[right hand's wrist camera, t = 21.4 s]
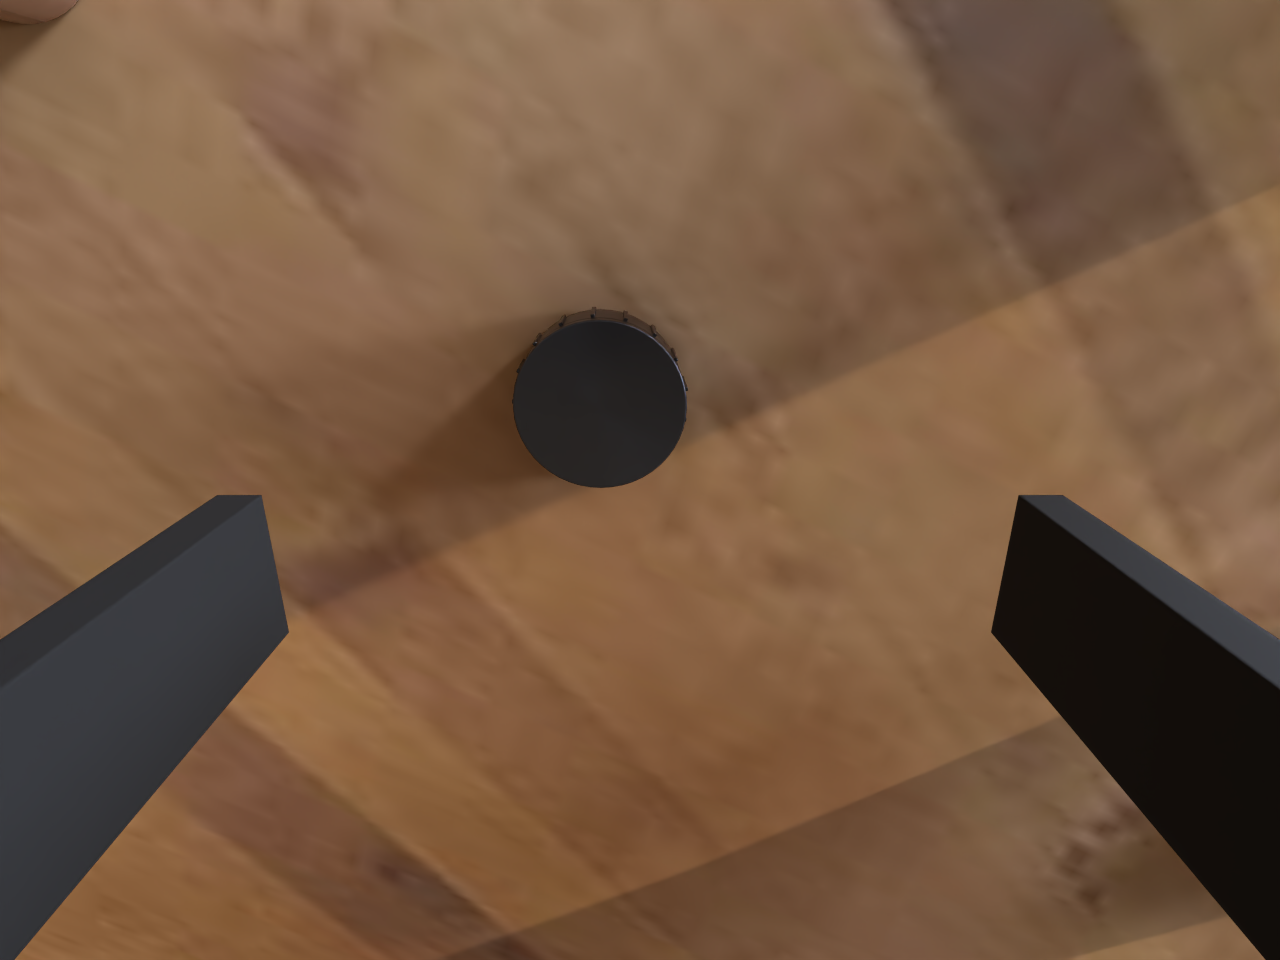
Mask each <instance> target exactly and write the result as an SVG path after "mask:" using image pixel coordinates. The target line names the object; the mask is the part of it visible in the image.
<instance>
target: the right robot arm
mask: <svg viewBox="0 0 1280 960" xmlns="http://www.w3.org/2000/svg"><path fill="white" fill-rule="evenodd" d="M288 633H289V630H288V625H287V620H286V616H285V611H284V606H283V601H282V596H281V591H280V586H279V581H278V576H277V571H276V566H275V561H274V556H273V551H272V546H271V541H270V536H269V531H268V526H267V521H266V516H265V511H264V506H263V501H262V496H261V495H217V496H215V497H214V498H212V499H211V500H209V501H208V502H206V503H205V504H203V505H202V506H200V507H199V508H197V509H196V510H194V511H193V512H191V513H190V514H188V515H187V516H185V517H184V518H182V519H181V520H179V521H178V522H176V523H175V524H173V525H172V526H170V527H169V528H167V529H166V530H164V531H163V532H161V533H160V534H158V535H157V536H155V537H154V538H152V539H151V540H149V541H148V542H146V543H145V544H143V545H142V546H140V547H139V548H137V549H136V550H134V551H133V552H131V553H130V554H128V555H127V556H125V557H124V558H122V559H121V560H119V561H118V562H116V563H115V564H113V565H112V566H110V567H109V568H107V569H106V570H104V571H103V572H101V573H100V574H98V575H97V576H95V577H94V578H92V579H91V580H89V581H88V582H86V583H85V584H83V585H82V586H80V587H79V588H77V589H76V590H74V591H73V592H71V593H70V594H68V595H67V596H65V597H64V598H62V599H61V600H59V601H58V602H56V603H55V604H53V605H52V606H50V607H49V608H47V609H46V610H44V611H43V612H41V613H40V614H38V615H37V616H35V617H34V618H32V619H31V620H29V621H28V622H26V623H25V624H23V625H22V626H20V627H19V628H17V629H16V630H14V631H13V632H11V633H10V634H8V635H7V636H5V637H4V638H2V639H1V640H0V960H15V958H16V957H17V956H18V955H19V954H20V952H21V951H22V950H23V949H24V948H25V946H26V945H27V944H28V943H29V942H30V940H31V939H32V938H33V937H34V936H35V935H36V933H37V932H38V931H39V930H40V929H41V927H42V926H43V925H44V924H45V923H46V921H47V920H48V919H49V918H50V917H51V915H52V914H53V913H54V912H55V911H56V909H57V908H58V907H59V906H60V905H61V903H62V902H63V901H64V900H65V899H66V898H67V896H68V895H69V894H70V893H71V892H72V890H73V889H74V888H75V887H76V886H77V884H78V883H79V882H80V881H81V880H82V878H83V877H84V876H85V875H86V874H87V872H88V871H89V870H90V869H91V868H92V867H93V865H94V864H95V863H96V862H97V861H98V859H99V858H100V857H101V856H102V855H103V853H104V852H105V851H106V850H107V849H108V847H109V846H110V845H111V844H112V843H113V841H114V840H115V839H116V838H117V837H118V835H119V834H120V833H121V832H122V831H123V830H124V828H125V827H126V826H127V825H128V824H129V822H130V821H131V820H132V819H133V818H134V816H135V815H136V814H137V813H138V812H139V810H140V809H141V808H142V807H143V806H144V804H145V803H146V802H147V801H148V800H149V799H150V797H151V796H152V795H153V794H154V793H155V791H156V790H157V789H158V788H159V787H160V785H161V784H162V783H163V782H164V781H165V779H166V778H167V777H168V776H169V775H170V773H171V772H172V771H173V770H174V769H175V767H176V766H177V765H178V764H179V763H180V762H181V760H182V759H183V758H184V757H185V756H186V754H187V753H188V752H189V751H190V750H191V748H192V747H193V746H194V745H195V744H196V742H197V741H198V740H199V739H200V738H201V736H202V735H203V734H204V733H205V732H206V731H207V729H208V728H209V727H210V726H211V725H212V723H213V722H214V721H215V720H216V719H217V717H218V716H219V715H220V714H221V713H222V711H223V710H224V709H225V708H226V707H227V705H228V704H229V703H230V702H231V701H232V699H233V698H234V697H235V696H236V695H237V694H238V692H239V691H240V690H241V689H242V688H243V686H244V685H245V684H246V683H247V682H248V680H249V679H250V678H251V677H252V676H253V674H254V673H255V672H256V671H257V670H258V668H259V667H260V666H261V665H262V664H263V663H264V661H265V660H266V659H267V658H268V657H269V655H270V654H271V653H272V652H273V651H274V649H275V648H276V647H277V646H278V645H279V643H280V642H281V641H282V640H283V639H284V637H285V636H286V635H287V634H288ZM991 633H992V634H993V635H994V636H995V637H996V639H997V640H998V641H999V642H1000V643H1001V645H1002V646H1003V647H1004V648H1005V649H1006V651H1007V652H1008V653H1009V654H1010V655H1011V657H1012V658H1013V659H1014V660H1015V661H1016V663H1017V664H1018V665H1019V666H1020V667H1021V668H1022V670H1023V671H1024V672H1025V673H1026V674H1027V676H1028V677H1029V678H1030V679H1031V680H1032V682H1033V683H1034V684H1035V685H1036V686H1037V688H1038V689H1039V690H1040V691H1041V692H1042V694H1043V695H1044V696H1045V697H1046V698H1047V699H1048V701H1049V702H1050V703H1051V704H1052V705H1053V707H1054V708H1055V709H1056V710H1057V711H1058V713H1059V714H1060V715H1061V716H1062V717H1063V719H1064V720H1065V721H1066V722H1067V723H1068V725H1069V726H1070V727H1071V728H1072V729H1073V731H1074V732H1075V733H1076V734H1077V735H1078V736H1079V738H1080V739H1081V740H1082V741H1083V742H1084V744H1085V745H1086V746H1087V747H1088V748H1089V750H1090V751H1091V752H1092V753H1093V754H1094V756H1095V757H1096V758H1097V759H1098V760H1099V762H1100V763H1101V764H1102V765H1103V766H1104V767H1105V769H1106V770H1107V771H1108V772H1109V773H1110V775H1111V776H1112V777H1113V778H1114V779H1115V781H1116V782H1117V783H1118V784H1119V785H1120V787H1121V788H1122V789H1123V790H1124V791H1125V793H1126V794H1127V795H1128V796H1129V797H1130V799H1131V800H1132V801H1133V802H1134V803H1135V804H1136V806H1137V807H1138V808H1139V809H1140V810H1141V812H1142V813H1143V814H1144V815H1145V816H1146V818H1147V819H1148V820H1149V821H1150V822H1151V824H1152V825H1153V826H1154V827H1155V828H1156V830H1157V831H1158V832H1159V833H1160V834H1161V835H1162V837H1163V838H1164V839H1165V840H1166V841H1167V843H1168V844H1169V845H1170V846H1171V847H1172V849H1173V850H1174V851H1175V852H1176V853H1177V855H1178V856H1179V857H1180V858H1181V859H1182V861H1183V862H1184V863H1185V864H1186V865H1187V867H1188V868H1189V869H1190V870H1191V871H1192V872H1193V874H1194V875H1195V876H1196V877H1197V878H1198V880H1199V881H1200V882H1201V883H1202V884H1203V886H1204V887H1205V888H1206V889H1207V890H1208V892H1209V893H1210V894H1211V895H1212V896H1213V898H1214V899H1215V900H1216V901H1217V902H1218V903H1219V905H1220V906H1221V907H1222V908H1223V909H1224V911H1225V912H1226V913H1227V914H1228V915H1229V917H1230V918H1231V919H1232V920H1233V921H1234V923H1235V924H1236V925H1237V926H1238V927H1239V929H1240V930H1241V931H1242V932H1243V933H1244V935H1245V936H1246V937H1247V938H1248V939H1249V940H1250V942H1251V943H1252V944H1253V945H1254V946H1255V948H1256V949H1257V950H1258V951H1259V952H1260V954H1261V955H1262V956H1263V957H1264V958H1265V960H1280V640H1279V639H1278V638H1276V637H1275V636H1273V635H1272V634H1270V633H1269V632H1267V631H1266V630H1264V629H1263V628H1261V627H1260V626H1258V625H1257V624H1255V623H1254V622H1252V621H1251V620H1249V619H1248V618H1246V617H1245V616H1243V615H1242V614H1240V613H1239V612H1237V611H1236V610H1234V609H1233V608H1231V607H1230V606H1228V605H1227V604H1225V603H1224V602H1222V601H1221V600H1219V599H1218V598H1216V597H1215V596H1213V595H1212V594H1210V593H1209V592H1207V591H1206V590H1204V589H1203V588H1201V587H1200V586H1198V585H1197V584H1195V583H1194V582H1192V581H1191V580H1189V579H1188V578H1186V577H1185V576H1183V575H1182V574H1180V573H1179V572H1177V571H1176V570H1174V569H1173V568H1171V567H1170V566H1168V565H1167V564H1165V563H1164V562H1162V561H1161V560H1159V559H1158V558H1156V557H1155V556H1153V555H1152V554H1150V553H1149V552H1147V551H1146V550H1144V549H1143V548H1141V547H1140V546H1138V545H1137V544H1135V543H1134V542H1132V541H1131V540H1129V539H1128V538H1126V537H1125V536H1123V535H1122V534H1120V533H1119V532H1117V531H1116V530H1114V529H1113V528H1111V527H1110V526H1108V525H1107V524H1105V523H1104V522H1102V521H1101V520H1099V519H1098V518H1096V517H1095V516H1093V515H1092V514H1090V513H1089V512H1087V511H1086V510H1084V509H1083V508H1081V507H1080V506H1078V505H1077V504H1075V503H1074V502H1072V501H1071V500H1069V499H1068V498H1066V497H1065V496H1063V495H1019V496H1018V501H1017V506H1016V511H1015V516H1014V521H1013V526H1012V531H1011V536H1010V541H1009V546H1008V551H1007V556H1006V561H1005V566H1004V571H1003V576H1002V581H1001V586H1000V591H999V596H998V601H997V606H996V611H995V616H994V621H993V625H992V630H991Z"/></svg>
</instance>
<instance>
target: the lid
mask: <svg viewBox="0 0 1280 960" xmlns="http://www.w3.org/2000/svg"><path fill="white" fill-rule="evenodd" d="M533 345H534V346H533V347H532V349H531V350H530V352H529V354H528V356H527V357H526V359H523V361H522V362H521V364H520V366H519V367H518V369H517V373H518V376H517V379H516V383H515V387H514V394H513V400H512V404H513V411H514V418H515V422H516V426H517V429H518V432H519V434H520V437H521V439H522V441H523V443H524V444H525V446H526V448H527V449H528V451H529V452H530V453H531V455H532V456H533V457H534V458H535V459H536V460H537V461H538V462H539V463H540V464H541V465H542V466H543V467H544V468H546V469H547V470H548V471H549V472H551V473H553V474H554V475H556V476H558V477H559V478H562V479H564V480H566V481H568V482H571V483H574V484H577V485H581V486H587V487H597V488H605V487H615V486H621V485H625V484H628V483H631V482H634V481H636V480H638V479H640V478H643V477H644V476H646V475H647V474H649V473H651V472H652V471H653V470H655V469H656V468H657V467H658V466H660V465H661V464H662V463H663V462H664V461H665V460H666V458H667V457H668V456H669V455H670V453H671V452H672V451H673V449H674V448H675V446H676V444H677V442H678V441H679V439H680V436H681V433H682V431H683V428H684V424H685V422H686V411H687V397H686V391H688V388H687V385H686V382H685V379H684V377H683V376H681V373H680V370H679V367H678V364H677V361H678V359H677V356H676V353H675V351H674V349H673V348H671V349H670V348H669V346H668V344H667V343H666V342H665V340H664V339H663V338H662V337H661V336H660V335H659V334H658V333H657V332H656V329H655V326H653V325H651V327H650V326H649V325H648V324H646V323H645V322H643V321H641V320H640V319H638V318H636V317H634V316H631V315H628V313H627V311H625V310H624V312H618V311H613V310H601V309H600V310H596V307H592V310H588V311H583V312H579V313H576V314H573V315H570V316H568V317H566V315H563V316H562V317H561V319H560V321H558V322H557V323H555V324H554V325H552V326H551V327H550V328H548V329H547V330H546V331H545V332H544V333H543V334H541V333H539V334H538V336H537V337H536V339H535V341H534V342H533Z"/></svg>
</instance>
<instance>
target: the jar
mask: <svg viewBox="0 0 1280 960" xmlns="http://www.w3.org/2000/svg"><path fill="white" fill-rule="evenodd" d="M77 1H78V0H0V20H4V21H8V22H12V23H20V24H37V23H42V22H47V21H50V20H52V19H55V18H57V17H59V16H61V15H62V14H64V13H66V12H67V11H68V10H69V9H71V8H72V7H73V6H74V5H75V4H76V2H77Z"/></svg>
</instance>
